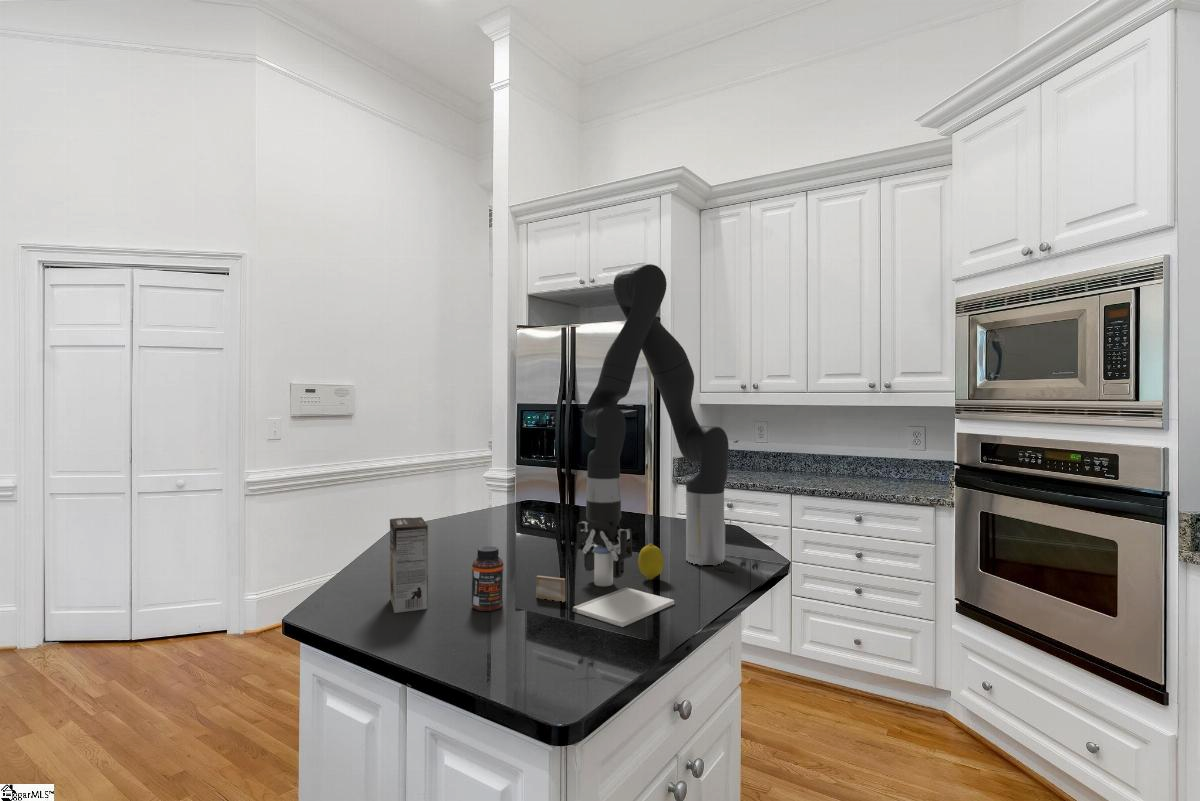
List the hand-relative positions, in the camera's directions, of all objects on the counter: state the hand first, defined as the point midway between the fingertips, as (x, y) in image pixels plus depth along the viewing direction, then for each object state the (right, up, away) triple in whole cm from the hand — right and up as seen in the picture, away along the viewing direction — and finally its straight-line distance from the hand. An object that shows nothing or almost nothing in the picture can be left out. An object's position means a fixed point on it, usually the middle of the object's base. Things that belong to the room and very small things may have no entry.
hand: (603, 573), depth 134 cm
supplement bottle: (-22, -2, -15) cm, 27 cm away
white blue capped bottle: (0, -2, 0) cm, 2 cm away
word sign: (-11, -2, -11) cm, 15 cm away
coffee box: (-38, -2, -13) cm, 40 cm away
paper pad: (+4, -2, -15) cm, 16 cm away
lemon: (+10, -2, +3) cm, 11 cm away
